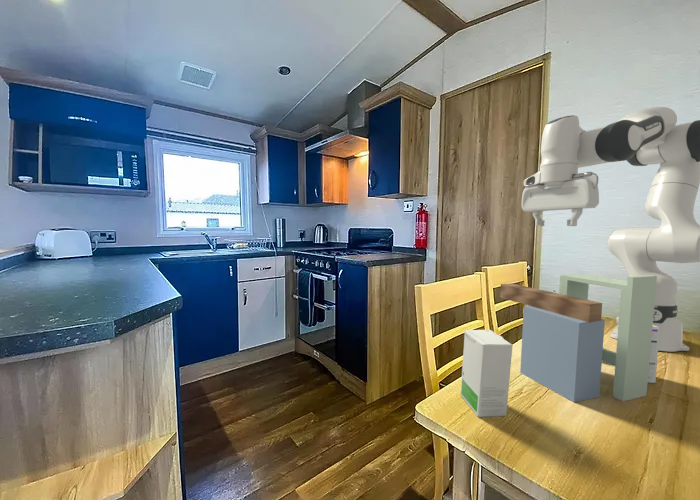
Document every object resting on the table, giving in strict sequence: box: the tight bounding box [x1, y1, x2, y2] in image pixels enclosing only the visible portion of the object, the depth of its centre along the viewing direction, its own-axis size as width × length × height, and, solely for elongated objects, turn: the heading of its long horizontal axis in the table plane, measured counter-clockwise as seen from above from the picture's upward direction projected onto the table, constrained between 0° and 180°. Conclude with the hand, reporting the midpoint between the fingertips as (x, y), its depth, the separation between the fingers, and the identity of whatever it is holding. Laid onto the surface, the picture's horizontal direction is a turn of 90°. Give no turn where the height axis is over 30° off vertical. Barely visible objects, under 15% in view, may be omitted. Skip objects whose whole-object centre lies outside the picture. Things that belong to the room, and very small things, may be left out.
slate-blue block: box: [519, 305, 606, 403], centre depth 73 cm, size 14×8×18 cm, turn 17°
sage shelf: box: [558, 273, 657, 402], centre depth 74 cm, size 16×8×28 cm, turn 17°
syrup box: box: [647, 325, 659, 384], centre depth 76 cm, size 6×6×14 cm
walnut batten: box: [499, 283, 603, 322], centre depth 76 cm, size 24×4×4 cm, turn 19°
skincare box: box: [460, 329, 514, 418], centre depth 63 cm, size 8×7×16 cm
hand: (554, 226), depth 84 cm, fingers open, 8 cm apart
